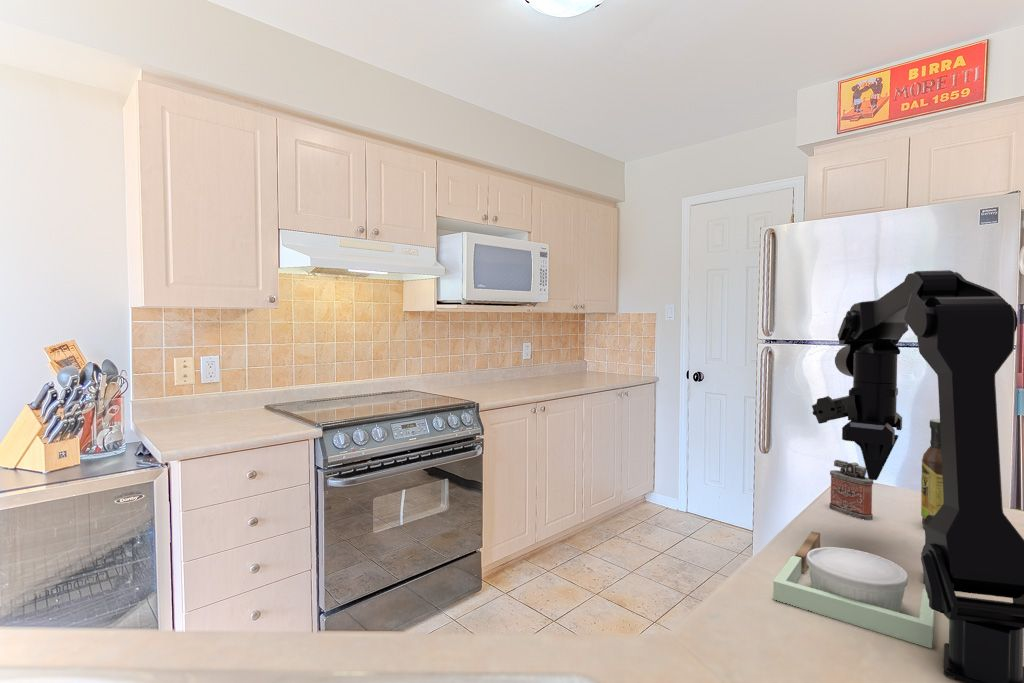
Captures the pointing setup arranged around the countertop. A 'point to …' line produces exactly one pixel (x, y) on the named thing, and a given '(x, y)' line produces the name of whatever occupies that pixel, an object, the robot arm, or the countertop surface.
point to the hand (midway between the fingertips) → (872, 479)
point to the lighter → (851, 490)
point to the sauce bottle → (932, 474)
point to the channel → (809, 545)
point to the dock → (854, 608)
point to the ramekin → (857, 576)
